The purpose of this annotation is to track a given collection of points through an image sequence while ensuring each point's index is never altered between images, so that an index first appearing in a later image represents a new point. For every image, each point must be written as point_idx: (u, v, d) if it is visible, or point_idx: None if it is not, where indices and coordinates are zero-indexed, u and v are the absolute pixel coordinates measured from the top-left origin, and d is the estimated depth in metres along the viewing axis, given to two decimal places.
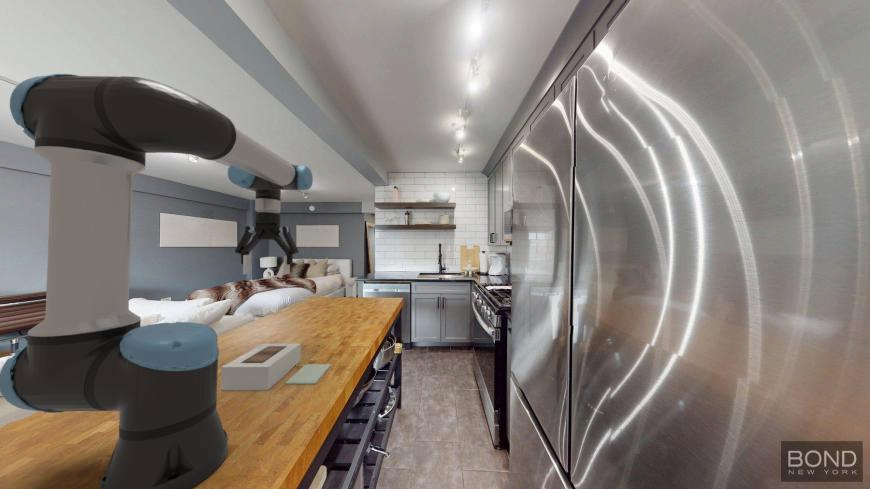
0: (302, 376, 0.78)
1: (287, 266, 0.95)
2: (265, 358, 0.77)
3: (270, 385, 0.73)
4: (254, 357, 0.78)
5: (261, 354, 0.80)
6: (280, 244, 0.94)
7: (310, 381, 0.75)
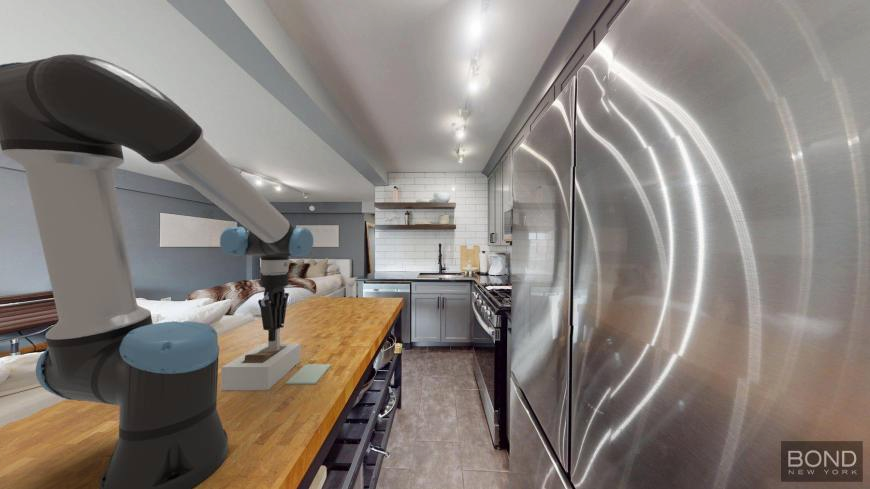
0: (302, 376, 0.78)
1: (271, 342, 0.84)
2: (267, 354, 0.78)
3: (270, 385, 0.73)
4: (256, 353, 0.79)
5: None
6: None
7: (310, 381, 0.75)
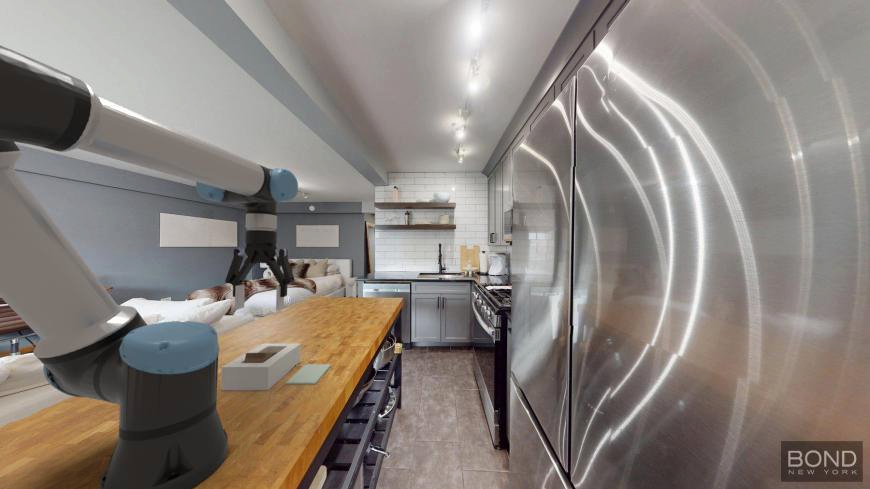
0: (302, 376, 0.78)
1: (281, 299, 0.78)
2: None
3: (270, 385, 0.73)
4: None
5: None
6: (274, 271, 0.77)
7: (310, 381, 0.75)
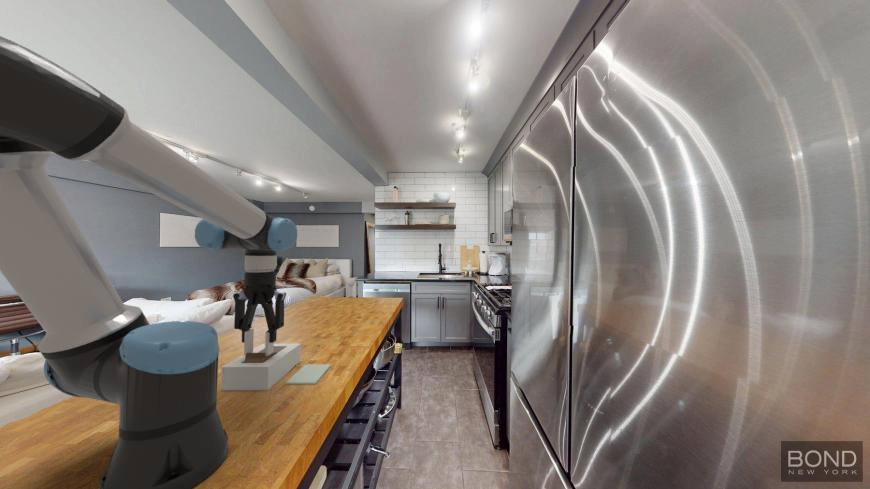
0: (302, 376, 0.78)
1: (270, 344, 0.77)
2: None
3: (270, 385, 0.73)
4: None
5: None
6: (267, 315, 0.76)
7: (310, 381, 0.75)
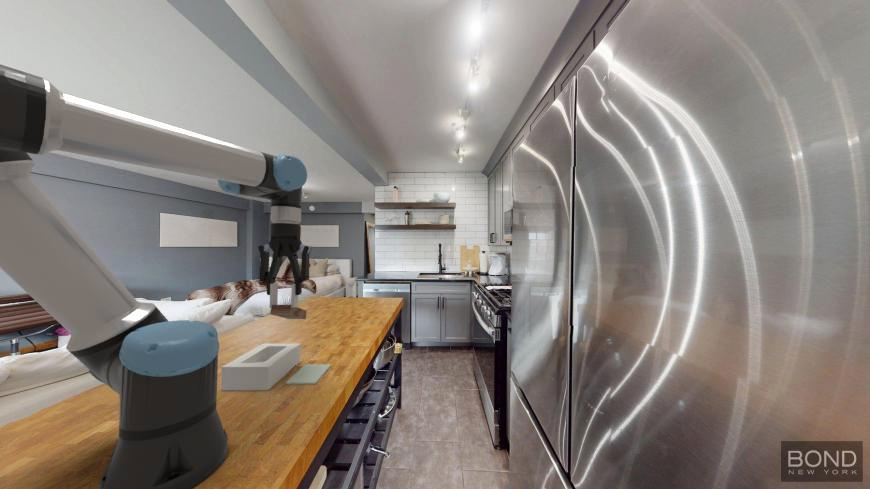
0: (302, 376, 0.78)
1: (295, 297, 0.77)
2: None
3: (270, 385, 0.73)
4: None
5: None
6: (293, 267, 0.76)
7: (310, 381, 0.75)
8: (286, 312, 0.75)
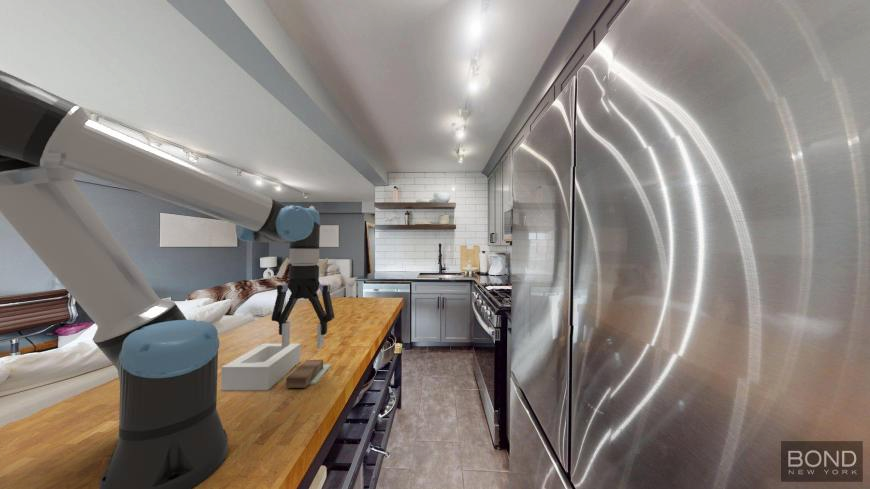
0: None
1: (321, 337, 0.76)
2: (307, 373, 0.75)
3: (270, 385, 0.73)
4: (295, 371, 0.76)
5: (302, 368, 0.78)
6: (316, 308, 0.75)
7: None
8: (302, 385, 0.72)
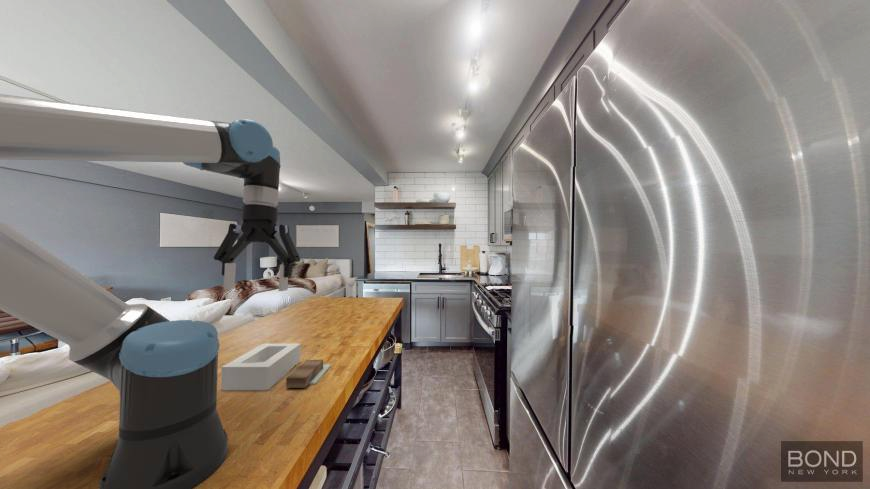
0: None
1: (284, 279, 0.69)
2: (307, 373, 0.75)
3: (270, 385, 0.73)
4: (295, 371, 0.76)
5: (302, 368, 0.78)
6: (275, 249, 0.68)
7: None
8: (302, 385, 0.72)
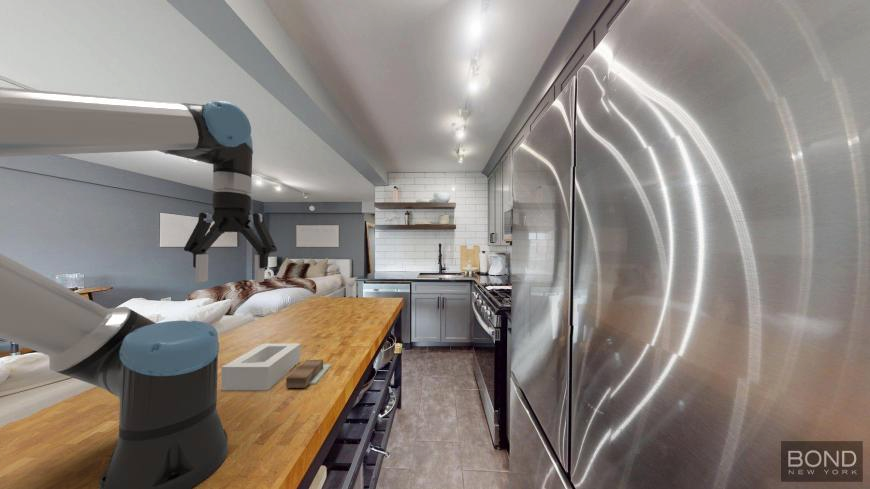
0: None
1: (260, 270, 0.66)
2: (307, 373, 0.75)
3: (270, 385, 0.73)
4: (295, 371, 0.76)
5: (302, 368, 0.78)
6: (250, 239, 0.65)
7: None
8: (302, 385, 0.72)
